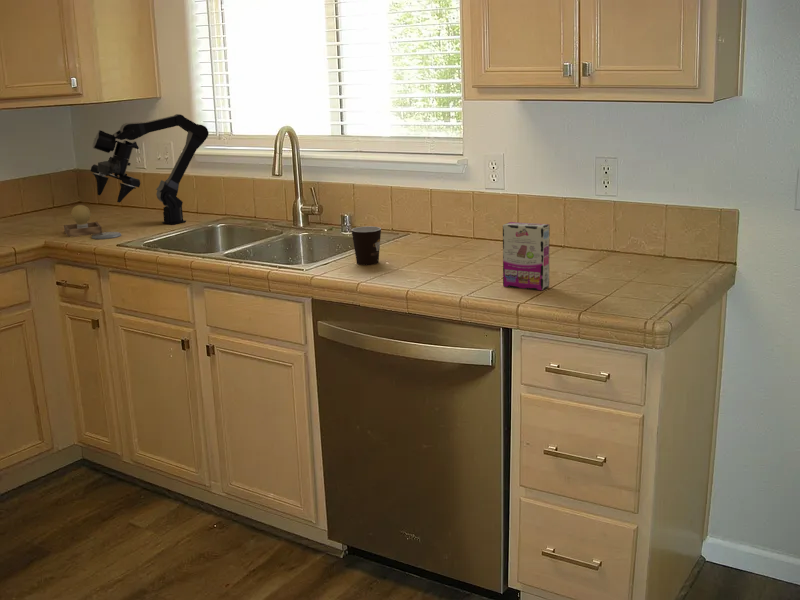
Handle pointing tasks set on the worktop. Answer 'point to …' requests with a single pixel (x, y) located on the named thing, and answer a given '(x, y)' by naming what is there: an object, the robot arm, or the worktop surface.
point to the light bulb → (81, 216)
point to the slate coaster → (106, 235)
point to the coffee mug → (366, 244)
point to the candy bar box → (526, 255)
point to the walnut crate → (83, 229)
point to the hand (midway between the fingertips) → (108, 198)
